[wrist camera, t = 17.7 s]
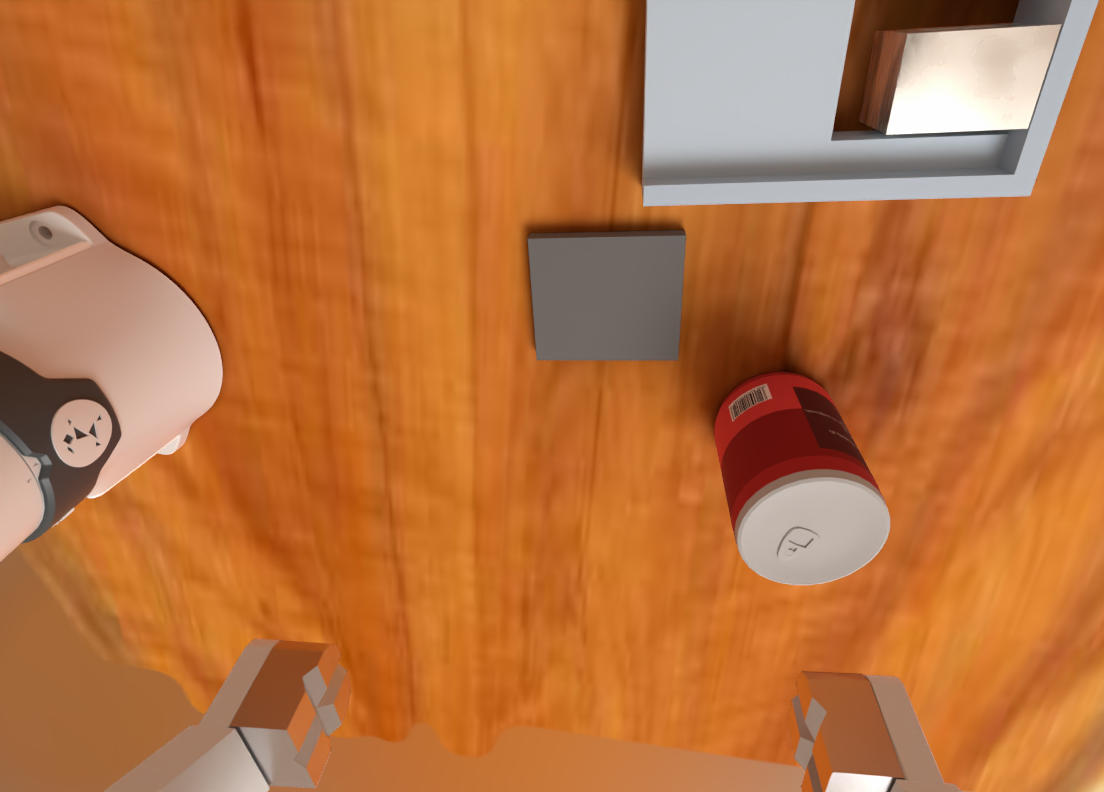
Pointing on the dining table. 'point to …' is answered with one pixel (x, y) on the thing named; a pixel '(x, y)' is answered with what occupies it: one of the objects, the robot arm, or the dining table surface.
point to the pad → (607, 294)
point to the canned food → (796, 482)
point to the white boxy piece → (956, 77)
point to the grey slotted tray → (813, 111)
